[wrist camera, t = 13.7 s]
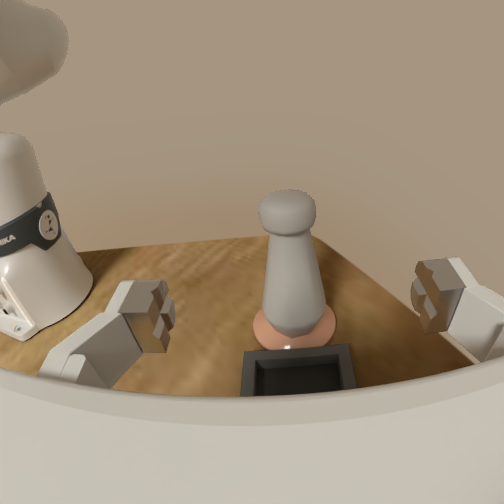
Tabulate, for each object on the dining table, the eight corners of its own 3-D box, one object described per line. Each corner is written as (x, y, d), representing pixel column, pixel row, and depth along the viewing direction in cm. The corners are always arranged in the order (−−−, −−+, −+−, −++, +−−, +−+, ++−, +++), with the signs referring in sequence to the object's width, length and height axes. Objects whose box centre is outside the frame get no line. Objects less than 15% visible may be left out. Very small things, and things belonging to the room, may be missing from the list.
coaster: (252, 359, 27) (251, 355, 27) (255, 301, 34) (255, 297, 34) (341, 353, 26) (341, 349, 26) (329, 295, 33) (329, 291, 33)
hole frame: (362, 444, 19) (365, 436, 18) (239, 452, 20) (235, 445, 19) (346, 354, 26) (348, 343, 25) (246, 361, 27) (243, 351, 26)
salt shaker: (272, 300, 33) (258, 182, 26) (327, 304, 31) (327, 181, 24) (258, 342, 28) (236, 212, 21) (321, 347, 27) (322, 213, 20)
